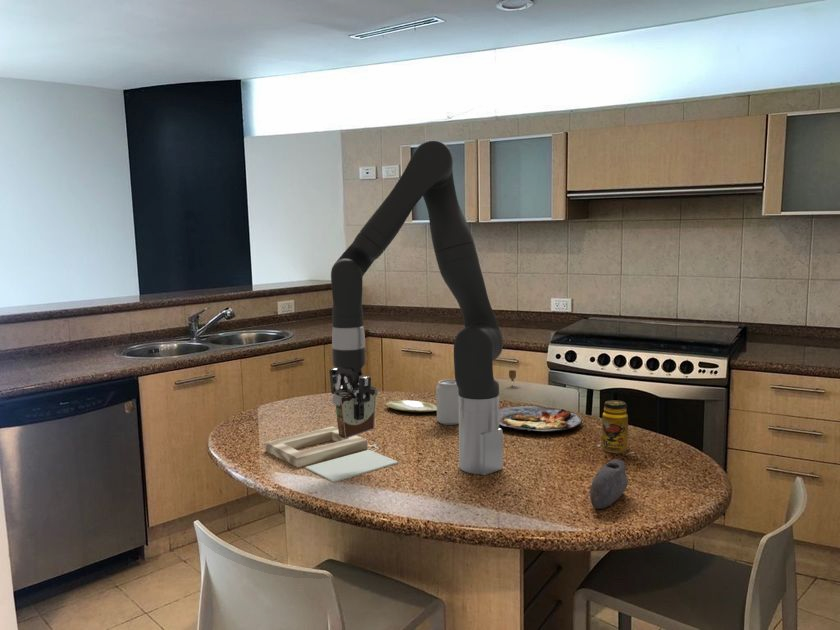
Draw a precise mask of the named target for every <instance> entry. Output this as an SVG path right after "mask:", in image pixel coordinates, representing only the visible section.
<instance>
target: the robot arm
mask: <svg viewBox="0 0 840 630" xmlns="http://www.w3.org/2000/svg"><path fill="white" fill-rule="evenodd" d="M453 163H454V160H453V155H452V153H451V150H450V148H449V147H448V145H446V144H445V143H444V142H442V141H439V140H436V139H434V140H433V139H432V140H426V141H424V142H422V143H420V144H419V145H418V146H417V147H416V148H415V150H414V151H413V154H412V155H411V157H410V159H409V162H408V164H407V165H406V167H405V169H404V171H403V172H402V175H401V176H400V177H399V178H398V181H397V182H396V184H395V185H394V187H393V188H392V190H391V191H390V192H389V194H388V195H386V196H387V197H386V198H385V199H384V200H383V202H382V203H381V204H380V205H379V207H378V208H377V209H376V210H375V211H374V213H372V215H371V216H370V218H369V219H368V221H367V222H365V224H364V225H363V227H361V229H360V231H359V232H358V233H357V235H356V236H355V238H354V240H353V241H352V242H351V244H350V245H349V246H348V247H347V248H346V249H345V251H344V252H343V253H342V254H341V255H340V257H338V259H337V260H336V261H335V262H334V264H333V265H332V267H331V272H330V280H331V281H330V282H331V296H332V308H331V309H332V310H331V311H332V313H331V314H332V315H331V316H332V317H331V319H332V332H331V346H332V349H331V351H332V366H333V367H334V368H331V369H329V381H330V383H329V384H330V392H331V394H332V395H334V392H335V391H336V390H338V389H341V390H349V394H350V395H351V396H353V401H354V419H355V420H362V419H363V418H364V403H365V402H369V401H370V391H371V386H372V378H371V376H369V375H368V376H365V375H364V374H363V372H362V368H363V367H364V366H366V364H367V363H366V362H367V361H366V337H365V336H366V335H365V330H364V329H365V328H364V309H363V283H364V282H363V280H364V279H363V277H364V275H365V274H366V272H368V270H369V268H370V267H371V266H372V264H373V263H374V262H375V261H376V260H377V259H379V258H380V256H382V255H383V254H384V252H385V251H386V249H387V248H388V247H389V245H390V244H391V243H392V241H394V239H395V238H396V236H397V235H398V233H399V232H400V231H401V229H402V227H403V225H404V224H405V222H406V221H407V219H408V217H409V215H410V214H411V213H412V211H413V210H414V208H415V207H416V206H417V204H418V203H419V201H421V198H423V200H424V203H425V206H426V209H427V214H428V219H429V221H428V222H429V229H430V235H431V241H432V246H433V247H432V248H433V252H434V255H435V258H436V259H435V260H436V263H437V266H438V270H439V274H440V275H441V277H442V279H443V281H444V283H445V284H446V286H447V287H448V289H449V291H450V292H451V294H452V295H453V296H454V299H455V300H456V301H457V303H458V306H459V309H460V311H461V315H462V319H463V324H464V328H463V329H461V330H460V331H459V332H457V335H456V336H455V339H454V342H453V366H454V367H453V369H454V380H455V381H456V384H457V386H458V394H459V424H458V451H459V452H458V454H459V455H458V459H459V461H458V462H459V463H458V464H459V469H460V470H461V471H463V472H465V473H468V474H475V475H482V476H486V475H489V474H492V473H494V472H499V471H501V470H503V467H504V466H503V465H504V461H503V459H504V457H503V455H504V452H503V449H504V448H503V447H504V446H503V445H504V443H503V441H504V439H503V437H504V436H503V434H504V433H503V429H502V428H501V427H500V424H499V410H500V386H499V381H497V380H495V377H494V369H493V368H494V367H493V366H494V365H493V361H494V360H496V359H498V358H499V357H500V355H501V353H502V351H503V348H504V338H503V335H502V332H501V329H500V326H499V324H498V322H497V321H498V320H497V319H496V316H495V314H494V311H493V308H492V306H491V303H490V300H489V296H488V293H487V287H486V284H485V279H484V275H483V272H482V268H481V264H480V258H479V255H478V253H477V249H476V245H475V241H474V238H473V235H472V233H471V229H470V227H469V224H468V222H467V219H466V217H465V216H464V213H463V211H462V209H461V207H460V204H459V200H458V197H457V196H458V195H457V192H456V186H455V181H454V172H453ZM358 387H359V390H355V389H357V388H358ZM364 393H366V397H365V396H364ZM356 394H359V396H358V398H357V395H356Z"/></svg>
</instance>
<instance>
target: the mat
mask: <svg viewBox="0 0 840 630" xmlns="http://www.w3.org/2000/svg"><path fill="white" fill-rule="evenodd" d="M397 464H399V461H397V460H395V459H393V458H390V457H387V456H385V455H383V454H380V453H378V452H375V451H373V450H370V449H365V450H361V451H357V452H356V453H355V452H354V453H350V454H346V455H343V456H339V457H335V458H334V459H333V458H332V459H328V460H324V461H321V462H317V463H313V464H310V465H306V466H305V469H306V470H307V471H310V472H312V473H314V474H316V475H318V476H320V477H322V478H323V479H326V480H327V481H330V482H332V483H337V482H340V481H343V480H348V479H350V478H354V477H357V476H360V475H364V474H366V473H367V474H368V473H370V472H374V471H377V470H381V469H383V468H387V467H390V466H394V465H397Z"/></svg>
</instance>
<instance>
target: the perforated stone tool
mask: <svg viewBox="0 0 840 630" xmlns="http://www.w3.org/2000/svg"><path fill="white" fill-rule="evenodd" d="M626 469H627V467H626V463H625V461H624V460H621V459H617V458H613V459H612V460H609V462H606V464H604V465H603V466H602V467H601V468H600V469H599V470H598V471H597V473H596V474H595V476H594V478H593V479H592V483H591V485H590V491H589V498H590V503H591V505H592V507H593V508H594V509H596V510H602V509H605V508H608V507H609V506H611V505H612V504H613V503H615V502H616V501H617V500H619V499H620V497H622V495H623V494H624V493H625V491H626V489H627V487H628V481H629V479H628V477H627V474H626Z"/></svg>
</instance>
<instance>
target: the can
mask: <svg viewBox="0 0 840 630" xmlns="http://www.w3.org/2000/svg"><path fill="white" fill-rule="evenodd" d="M435 388H436V390H435V391H436V392H435V393H436V405H437V411H436V420H437V422H439V424H441V425H445V426H455V425H459V394H458V386H457V384H456V381H455V379H441V380H439V381H438V384H437V386H436V387H435Z"/></svg>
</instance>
